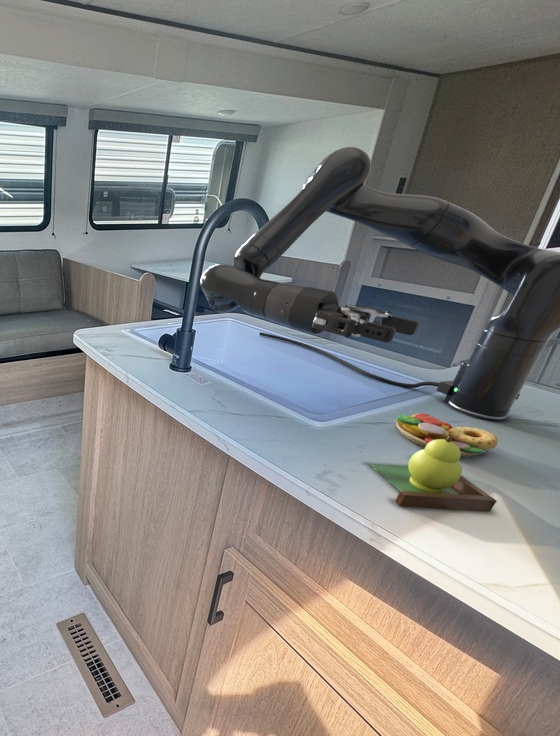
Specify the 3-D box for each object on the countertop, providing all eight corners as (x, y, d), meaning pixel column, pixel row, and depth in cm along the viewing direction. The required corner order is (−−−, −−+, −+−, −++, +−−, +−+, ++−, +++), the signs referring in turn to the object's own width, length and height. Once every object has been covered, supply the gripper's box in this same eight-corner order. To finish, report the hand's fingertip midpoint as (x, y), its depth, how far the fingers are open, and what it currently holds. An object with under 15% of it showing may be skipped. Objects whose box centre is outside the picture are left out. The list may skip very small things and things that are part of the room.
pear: (391, 475, 68) (414, 427, 64) (421, 472, 69) (444, 424, 66) (430, 500, 63) (456, 449, 59) (460, 495, 64) (489, 445, 60)
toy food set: (501, 453, 76) (510, 438, 75) (460, 468, 71) (469, 451, 70) (418, 418, 87) (424, 404, 86) (378, 429, 82) (384, 414, 81)
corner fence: (345, 455, 73) (349, 445, 72) (421, 459, 73) (426, 450, 72) (399, 506, 61) (405, 495, 61) (490, 511, 61) (497, 500, 60)
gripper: (283, 289, 72) (395, 312, 59) (325, 283, 79) (433, 303, 67) (271, 332, 75) (375, 362, 62) (313, 322, 82) (413, 348, 70)
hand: (405, 332), depth 65 cm, fingers open, 8 cm apart
